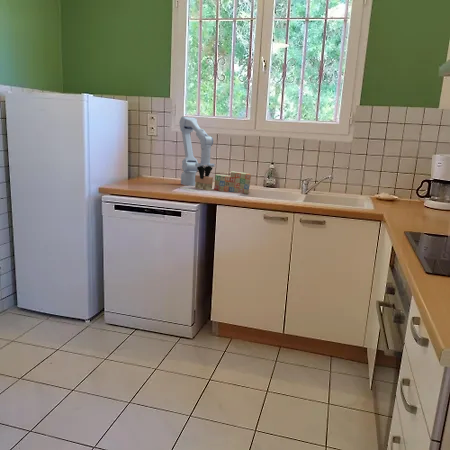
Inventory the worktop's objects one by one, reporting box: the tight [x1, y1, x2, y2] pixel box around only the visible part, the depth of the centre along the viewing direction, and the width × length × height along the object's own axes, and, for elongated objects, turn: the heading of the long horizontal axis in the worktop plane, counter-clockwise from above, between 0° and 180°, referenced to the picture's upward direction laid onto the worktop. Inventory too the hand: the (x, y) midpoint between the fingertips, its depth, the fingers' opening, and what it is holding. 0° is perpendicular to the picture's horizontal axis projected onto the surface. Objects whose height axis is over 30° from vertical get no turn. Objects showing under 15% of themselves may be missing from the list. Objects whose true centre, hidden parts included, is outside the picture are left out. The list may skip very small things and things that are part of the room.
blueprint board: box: [180, 186, 204, 192], centre depth 264 cm, size 16×24×1 cm, turn 136°
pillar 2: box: [202, 183, 213, 191], centre depth 264 cm, size 4×4×4 cm
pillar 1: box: [194, 182, 203, 189], centre depth 269 cm, size 4×4×4 cm
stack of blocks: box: [213, 170, 252, 195], centre depth 264 cm, size 21×6×12 cm, turn 85°
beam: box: [195, 174, 214, 185], centre depth 266 cm, size 12×4×4 cm, turn 46°
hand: (204, 178), depth 265 cm, fingers closed on beam, 3 cm apart
